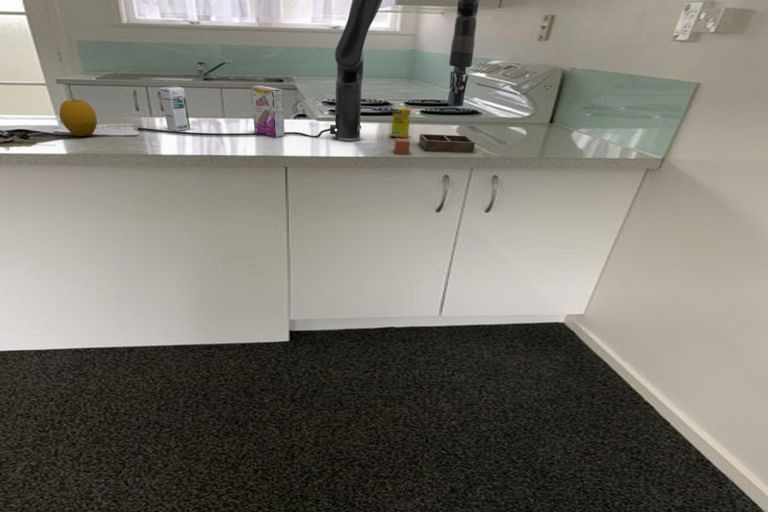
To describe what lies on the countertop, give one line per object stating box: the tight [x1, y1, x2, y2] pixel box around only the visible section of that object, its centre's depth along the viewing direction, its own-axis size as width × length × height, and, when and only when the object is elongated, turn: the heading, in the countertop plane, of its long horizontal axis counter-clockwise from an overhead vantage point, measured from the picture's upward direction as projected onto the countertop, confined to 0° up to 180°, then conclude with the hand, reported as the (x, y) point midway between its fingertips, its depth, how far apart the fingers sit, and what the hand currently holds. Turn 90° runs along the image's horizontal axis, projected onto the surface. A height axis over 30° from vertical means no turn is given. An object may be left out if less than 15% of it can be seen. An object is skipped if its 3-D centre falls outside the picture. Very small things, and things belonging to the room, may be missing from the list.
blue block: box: [447, 90, 466, 107], centre depth 147 cm, size 4×4×4 cm
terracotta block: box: [394, 138, 411, 155], centre depth 144 cm, size 4×4×4 cm
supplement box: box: [390, 106, 411, 139], centre depth 164 cm, size 6×6×11 cm
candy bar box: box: [250, 85, 286, 138], centre depth 153 cm, size 11×5×16 cm, turn 58°
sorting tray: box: [418, 133, 476, 154], centre depth 155 cm, size 18×11×4 cm, turn 96°
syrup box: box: [159, 85, 191, 132], centre depth 151 cm, size 6×6×14 cm
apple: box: [59, 98, 98, 138], centre depth 135 cm, size 10×10×12 cm
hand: (455, 104), depth 148 cm, fingers closed on blue block, 4 cm apart
